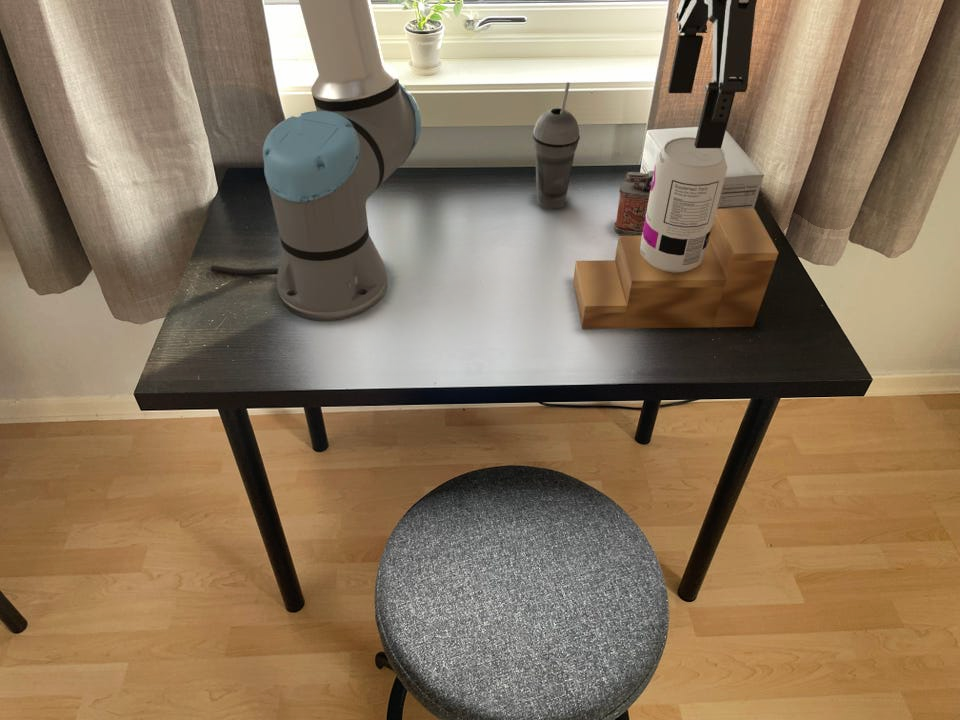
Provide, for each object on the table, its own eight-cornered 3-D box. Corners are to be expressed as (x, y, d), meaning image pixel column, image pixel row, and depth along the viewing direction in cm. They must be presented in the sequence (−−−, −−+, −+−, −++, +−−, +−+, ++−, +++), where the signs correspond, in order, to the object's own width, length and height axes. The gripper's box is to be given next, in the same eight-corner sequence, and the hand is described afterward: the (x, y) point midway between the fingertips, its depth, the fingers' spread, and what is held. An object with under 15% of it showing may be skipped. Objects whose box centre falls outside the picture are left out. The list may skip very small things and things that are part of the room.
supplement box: (750, 228, 116) (766, 174, 109) (669, 234, 114) (681, 180, 108) (710, 174, 128) (723, 123, 121) (637, 179, 126) (646, 127, 120)
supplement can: (626, 256, 96) (644, 151, 86) (663, 231, 101) (684, 128, 90) (679, 283, 92) (704, 176, 82) (714, 256, 96) (743, 150, 86)
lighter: (665, 226, 116) (676, 168, 109) (666, 238, 113) (679, 180, 107) (613, 223, 116) (621, 166, 110) (614, 235, 114) (622, 177, 107)
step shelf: (581, 329, 98) (591, 255, 90) (572, 283, 105) (581, 210, 97) (753, 326, 99) (778, 252, 90) (732, 281, 106) (754, 208, 97)
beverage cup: (539, 185, 125) (546, 67, 111) (579, 195, 122) (592, 76, 109) (521, 206, 120) (527, 86, 106) (563, 217, 118) (575, 95, 104)
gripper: (829, -60, 60) (758, 173, 75) (742, -126, 78) (699, 72, 93) (738, -61, 60) (684, 173, 75) (672, -127, 78) (639, 72, 93)
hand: (692, 118), depth 84 cm, fingers open, 13 cm apart
